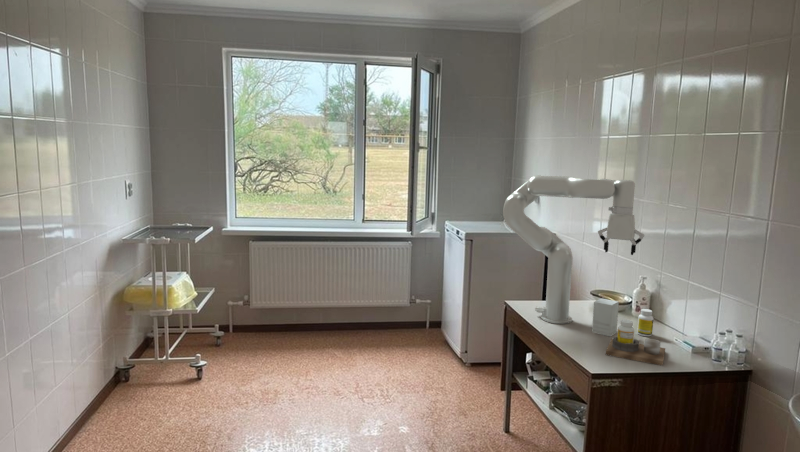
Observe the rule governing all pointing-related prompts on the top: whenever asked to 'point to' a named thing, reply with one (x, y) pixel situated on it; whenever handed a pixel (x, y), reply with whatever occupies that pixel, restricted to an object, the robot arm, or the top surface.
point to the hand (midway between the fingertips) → (619, 253)
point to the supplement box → (605, 317)
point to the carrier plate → (638, 351)
